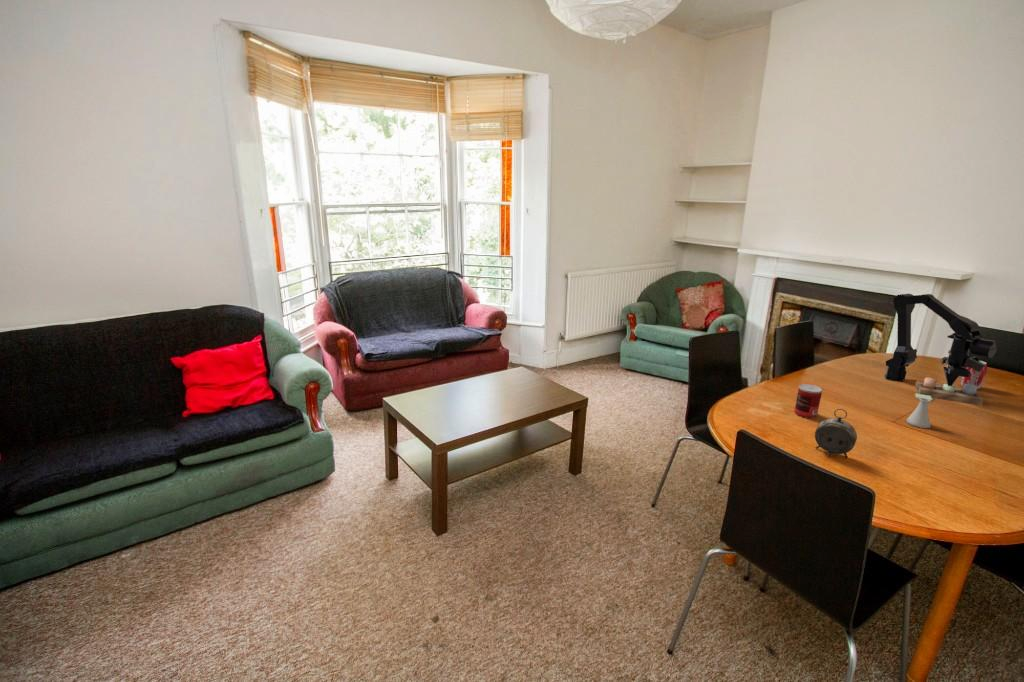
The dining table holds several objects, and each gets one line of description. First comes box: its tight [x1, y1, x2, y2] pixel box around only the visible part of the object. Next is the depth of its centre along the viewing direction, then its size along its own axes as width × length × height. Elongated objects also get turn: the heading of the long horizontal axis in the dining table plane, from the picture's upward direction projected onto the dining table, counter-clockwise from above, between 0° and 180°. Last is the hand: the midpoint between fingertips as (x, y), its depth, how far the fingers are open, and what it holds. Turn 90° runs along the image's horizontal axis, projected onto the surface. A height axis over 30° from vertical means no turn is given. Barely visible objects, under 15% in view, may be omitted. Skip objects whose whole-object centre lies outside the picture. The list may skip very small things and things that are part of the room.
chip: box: [914, 392, 933, 402], centre depth 204 cm, size 5×5×1 cm
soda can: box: [960, 360, 988, 390], centre depth 215 cm, size 7×7×12 cm
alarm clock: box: [814, 408, 858, 459], centre depth 156 cm, size 11×5×16 cm, turn 49°
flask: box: [906, 398, 931, 429], centre depth 179 cm, size 7×7×10 cm
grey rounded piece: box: [962, 384, 978, 396], centre depth 203 cm, size 4×4×4 cm
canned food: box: [793, 383, 823, 419], centre depth 186 cm, size 8×8×11 cm
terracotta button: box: [923, 377, 938, 389], centre depth 209 cm, size 4×4×4 cm
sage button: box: [942, 383, 957, 392], centre depth 206 cm, size 4×4×4 cm
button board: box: [914, 380, 984, 406], centre depth 207 cm, size 20×12×2 cm, turn 59°
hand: (949, 385), depth 206 cm, fingers closed, pressing on sage button
